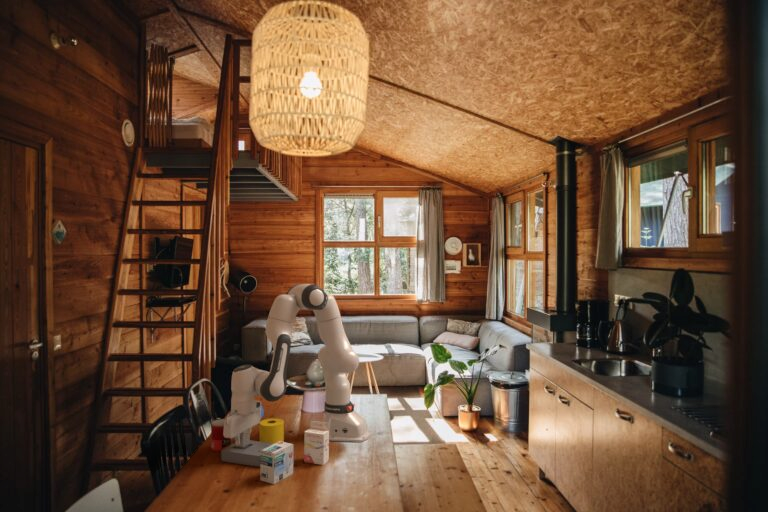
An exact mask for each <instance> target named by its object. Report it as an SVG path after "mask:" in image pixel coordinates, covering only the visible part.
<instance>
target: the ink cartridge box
mask: <svg viewBox="0 0 768 512" xmlns="http://www.w3.org/2000/svg"><path fill="white" fill-rule="evenodd" d="M303 438H304V441H303V444H304V447H303V448H304V449H303V452H304V453H303V462H304V463H309V464H314V465H315V464H316V465H320V466H324V465H326V463H327V462H329V459H330V458H329V456H330V440H329V428H328V423H326V422H324V421H319V420H310V421H309V428H308V429H306V430H304V437H303Z"/></svg>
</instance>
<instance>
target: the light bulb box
mask: <svg viewBox="0 0 768 512" xmlns="http://www.w3.org/2000/svg"><path fill="white" fill-rule="evenodd" d="M259 468H260V470H259V471H260V474H259V476H260V478H259V479H260V481H261V482H264V483H267V484H268V483H269V484H271V485H275V484H277V483H279V482H281V481H283V480H284V479H287V478H288V477H290V476H292V475H293V474H294V444H293V443H289V442H286V441H284V442H282V441H279V442H277V443H275V444H273V445H270V446H268V447H266V448H264V449H262V450H261V463H260V467H259Z"/></svg>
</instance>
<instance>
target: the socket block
mask: <svg viewBox="0 0 768 512" xmlns="http://www.w3.org/2000/svg"><path fill="white" fill-rule="evenodd" d="M273 444H274V443H267V442H260V440H259V441H258V440H251V439H250V447H248V448H246V449H245V450H243V449H236V448H235V442H234V443H231V445H230V446H228V447H227V448H225V449H223V450H221V452H220V454H221V456H220V457H221V458H220V459H221V460H220V461H221V462H227V463H233V464H239V465H246V466H252V467H259V468H260V463H261V450H262V449H264V448H266V447H268V446H270V445H273Z"/></svg>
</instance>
